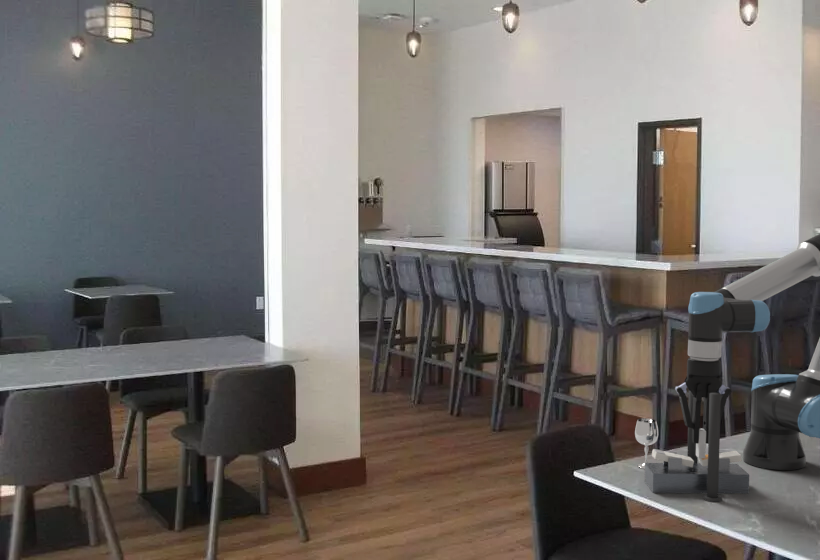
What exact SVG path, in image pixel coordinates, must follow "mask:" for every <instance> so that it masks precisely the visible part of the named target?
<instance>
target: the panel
mask: <svg viewBox="0 0 820 560" xmlns="http://www.w3.org/2000/svg"><path fill="white" fill-rule="evenodd" d="M668 452H669V453H674V454H678V453H677V451H668ZM719 453H724V452H720V451H719ZM707 479H708V466H702V465H701V464H700V463H699V462H697V463H694V464H693V467H689V466H684V465H682V458H669V459H668V462H666V461H662V462H648V463H645V469H644V482H645V484H646V485H647V486H648V488H649V489H650V491H651V492H652V493H655V494H662V493H663V494H707ZM735 493H737V495H738V493H740V495H741V494H742V495H745V494H748V495H749V493H750V474H749V473H748V472H747V471H745V469H743V467H741V466H740V465H739V464H738V463H730V459H729V458H719V486H718V494H728V495H729V494H735ZM735 495H736V494H735Z"/></svg>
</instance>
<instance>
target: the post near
mask: <svg viewBox="0 0 820 560" xmlns="http://www.w3.org/2000/svg"><path fill="white" fill-rule="evenodd" d="M720 404H721V394H720V393H719V392H716V393H710V394H709V436H708V444H707V454H708V479H707V493H704V494H703V496H702V498H703V501H707V502H711V503H719V502H722V500H723V497H722V496H721V494H719V493H718V486H719V452H720V444H721V443H720V435H721V421H720Z"/></svg>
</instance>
